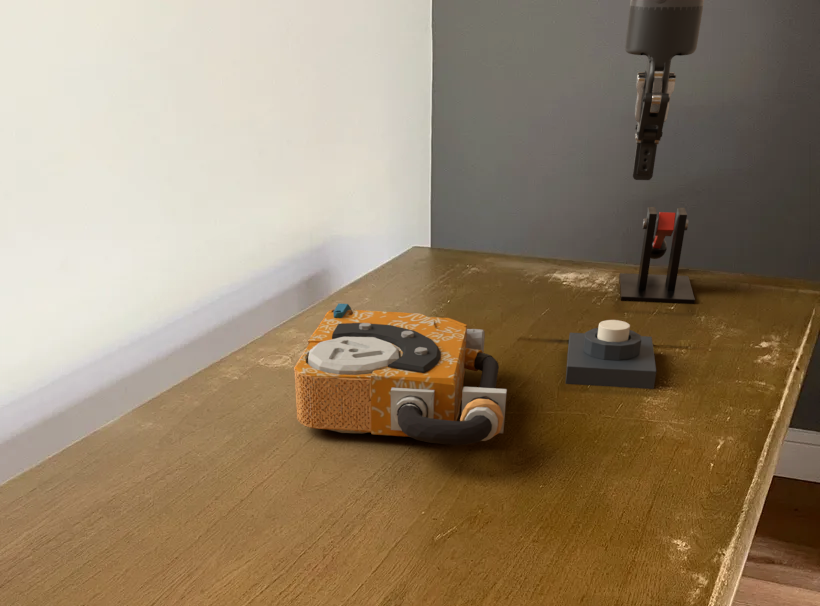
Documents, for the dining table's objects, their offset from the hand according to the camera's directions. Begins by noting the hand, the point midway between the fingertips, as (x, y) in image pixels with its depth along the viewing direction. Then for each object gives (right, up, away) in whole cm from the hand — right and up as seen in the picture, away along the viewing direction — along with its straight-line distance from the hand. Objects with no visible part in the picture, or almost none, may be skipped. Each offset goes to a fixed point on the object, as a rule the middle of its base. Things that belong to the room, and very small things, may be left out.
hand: (641, 178), depth 110 cm
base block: (-3, -21, +5) cm, 21 cm away
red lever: (+11, +3, +29) cm, 31 cm away
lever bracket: (+10, -4, +29) cm, 31 cm away
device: (-28, -28, -5) cm, 40 cm away
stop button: (-3, -18, +3) cm, 18 cm away
